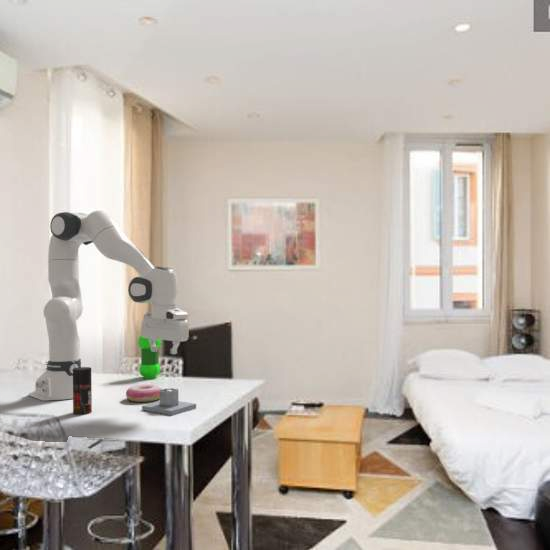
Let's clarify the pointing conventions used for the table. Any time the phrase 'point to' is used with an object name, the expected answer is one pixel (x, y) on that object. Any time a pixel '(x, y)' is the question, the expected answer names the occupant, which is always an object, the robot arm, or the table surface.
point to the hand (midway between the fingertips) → (163, 352)
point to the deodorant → (82, 391)
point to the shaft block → (169, 410)
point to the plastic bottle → (149, 359)
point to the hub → (168, 397)
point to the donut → (143, 393)
